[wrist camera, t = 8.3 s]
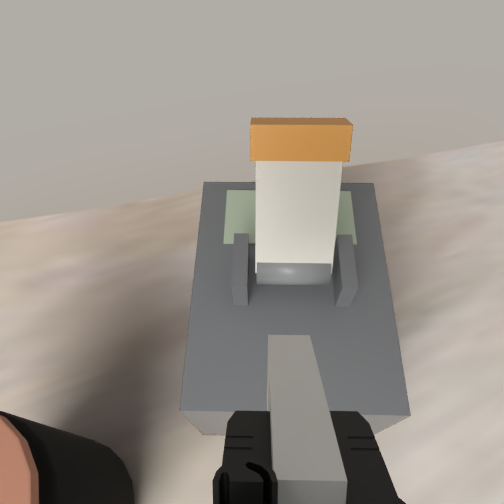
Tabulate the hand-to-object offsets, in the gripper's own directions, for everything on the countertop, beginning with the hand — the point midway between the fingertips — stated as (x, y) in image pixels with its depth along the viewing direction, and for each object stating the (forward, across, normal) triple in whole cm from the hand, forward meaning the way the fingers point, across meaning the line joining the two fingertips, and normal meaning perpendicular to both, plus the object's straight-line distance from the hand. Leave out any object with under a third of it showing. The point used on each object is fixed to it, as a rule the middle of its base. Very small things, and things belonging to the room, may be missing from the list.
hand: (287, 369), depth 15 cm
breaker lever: (+14, +1, -1) cm, 14 cm away
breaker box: (+23, +1, -10) cm, 25 cm away
